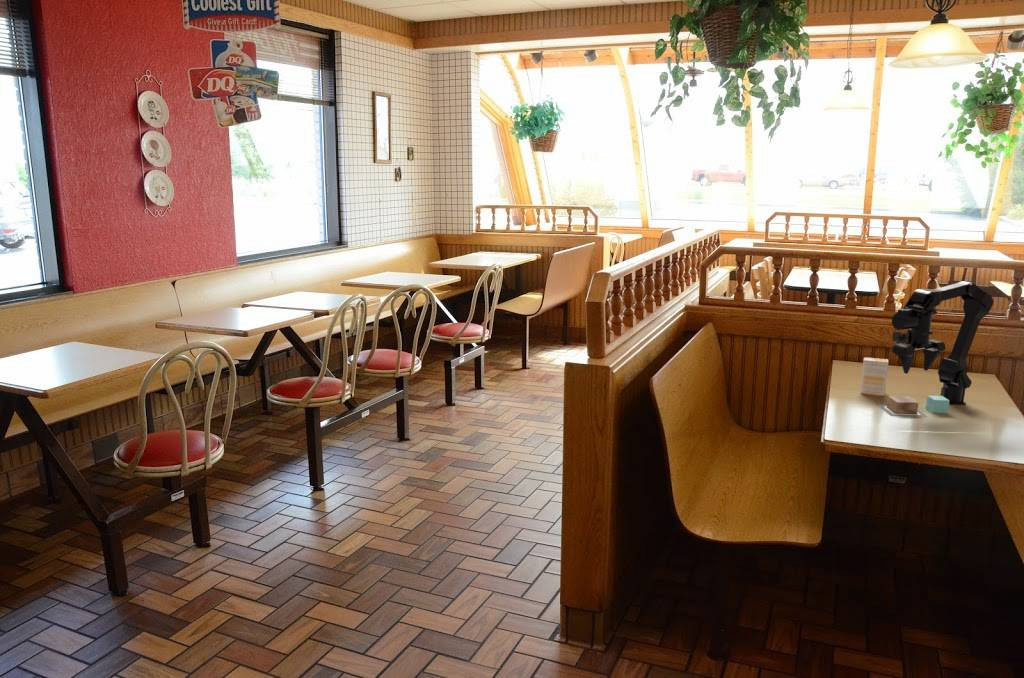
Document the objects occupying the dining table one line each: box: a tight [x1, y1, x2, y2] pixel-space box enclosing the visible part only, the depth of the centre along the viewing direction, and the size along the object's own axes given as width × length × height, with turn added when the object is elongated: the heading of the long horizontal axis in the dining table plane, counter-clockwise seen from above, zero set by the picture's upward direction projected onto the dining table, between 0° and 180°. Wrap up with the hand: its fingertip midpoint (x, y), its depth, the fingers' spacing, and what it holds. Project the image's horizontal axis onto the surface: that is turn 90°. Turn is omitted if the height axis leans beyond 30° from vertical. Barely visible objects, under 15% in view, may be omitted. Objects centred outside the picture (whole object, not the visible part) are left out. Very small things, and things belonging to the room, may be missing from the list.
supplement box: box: [860, 356, 889, 397], centre depth 286 cm, size 8×5×13 cm, turn 65°
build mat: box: [876, 404, 928, 418], centre depth 268 cm, size 12×12×1 cm
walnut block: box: [886, 395, 919, 414], centre depth 268 cm, size 7×7×4 cm
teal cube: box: [925, 395, 950, 414], centre depth 268 cm, size 5×5×5 cm
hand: (915, 371), depth 271 cm, fingers open, 9 cm apart
